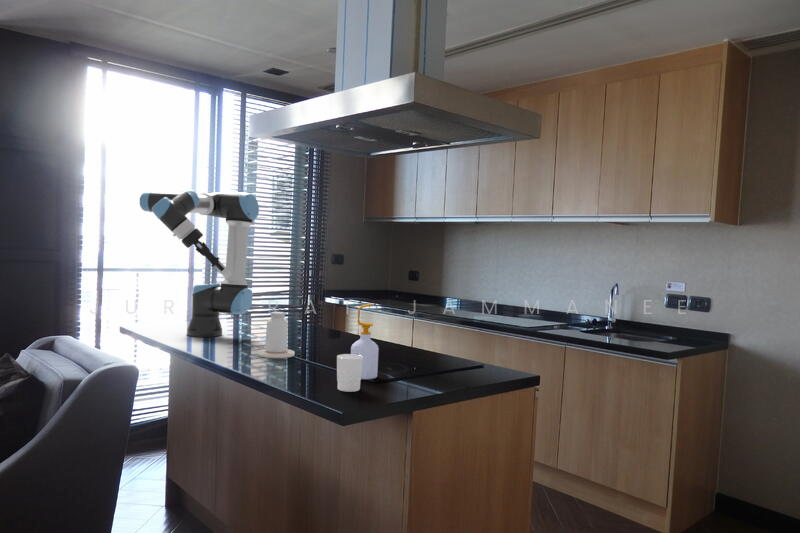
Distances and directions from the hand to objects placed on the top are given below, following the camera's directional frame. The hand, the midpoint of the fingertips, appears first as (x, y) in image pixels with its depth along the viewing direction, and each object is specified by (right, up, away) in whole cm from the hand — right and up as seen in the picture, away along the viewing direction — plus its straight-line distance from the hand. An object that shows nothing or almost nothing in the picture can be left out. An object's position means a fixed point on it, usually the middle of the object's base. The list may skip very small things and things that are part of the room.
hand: (228, 275), depth 222 cm
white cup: (+50, -34, -46) cm, 76 cm away
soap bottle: (+53, -33, -28) cm, 69 cm away
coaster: (+18, -31, +2) cm, 35 cm away
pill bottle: (+18, -29, +2) cm, 34 cm away
